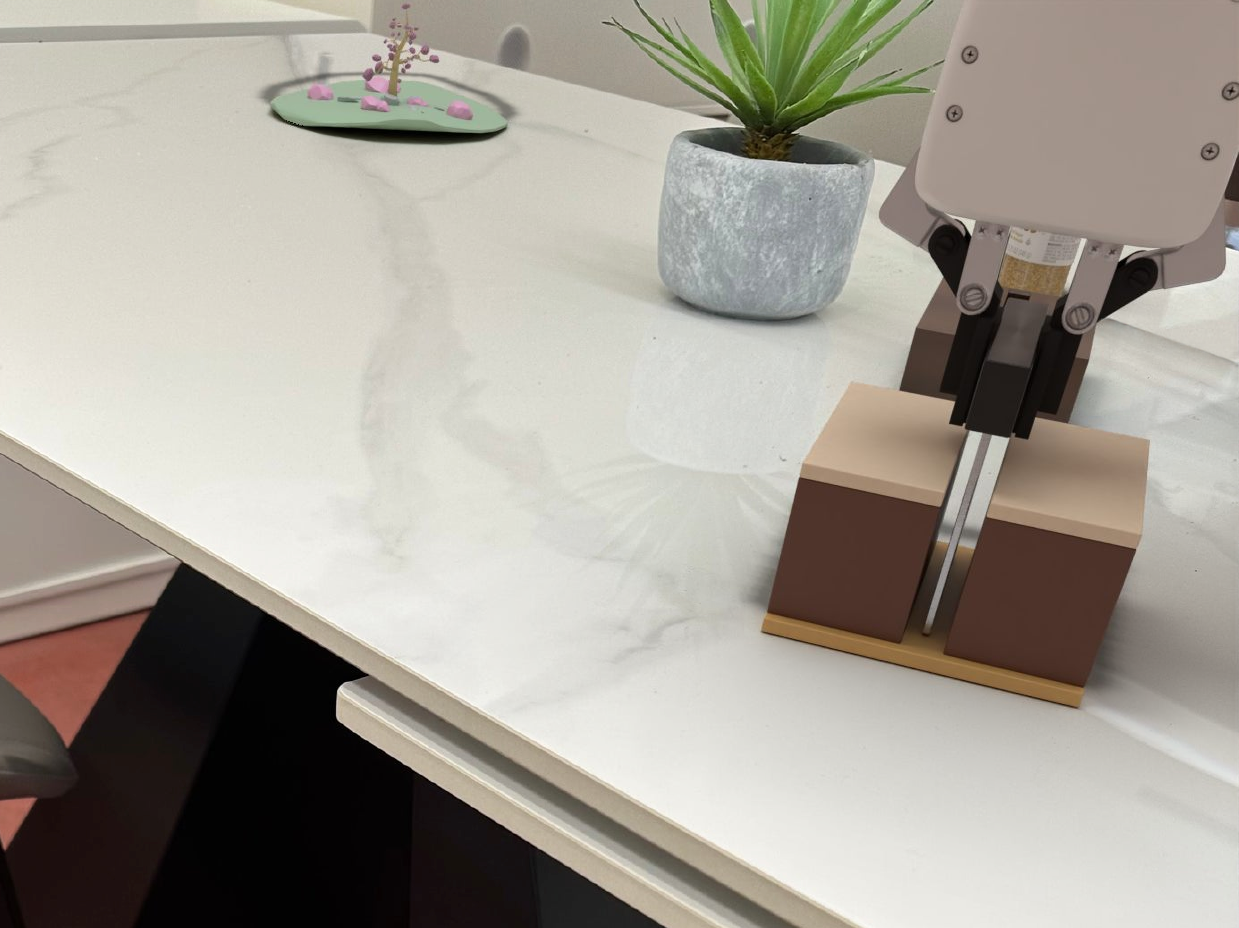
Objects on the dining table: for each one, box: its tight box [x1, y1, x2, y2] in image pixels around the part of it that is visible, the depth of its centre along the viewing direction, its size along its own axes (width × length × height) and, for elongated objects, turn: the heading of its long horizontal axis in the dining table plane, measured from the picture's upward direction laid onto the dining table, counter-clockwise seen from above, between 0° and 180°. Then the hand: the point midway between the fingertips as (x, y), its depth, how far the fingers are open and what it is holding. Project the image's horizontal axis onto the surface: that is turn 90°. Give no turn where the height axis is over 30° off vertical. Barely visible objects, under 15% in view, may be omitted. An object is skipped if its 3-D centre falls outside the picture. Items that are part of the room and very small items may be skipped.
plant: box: [269, 2, 509, 134], centre depth 140 cm, size 25×21×9 cm
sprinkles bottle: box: [998, 227, 1083, 297], centre depth 101 cm, size 5×5×14 cm
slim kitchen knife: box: [922, 297, 1050, 634], centre depth 63 cm, size 10×2×10 cm, turn 157°
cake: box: [760, 381, 1151, 708], centre depth 65 cm, size 12×12×7 cm
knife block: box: [898, 276, 1098, 424], centre depth 90 cm, size 12×9×4 cm
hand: (992, 418), depth 62 cm, fingers closed on slim kitchen knife, 1 cm apart
